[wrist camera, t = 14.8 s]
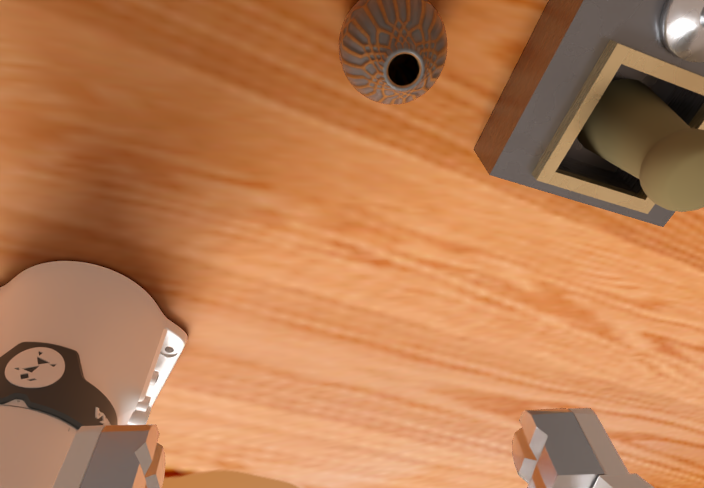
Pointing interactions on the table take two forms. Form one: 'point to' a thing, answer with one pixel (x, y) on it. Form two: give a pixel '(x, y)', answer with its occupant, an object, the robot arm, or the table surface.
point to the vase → (392, 48)
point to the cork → (648, 144)
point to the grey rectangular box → (593, 95)
